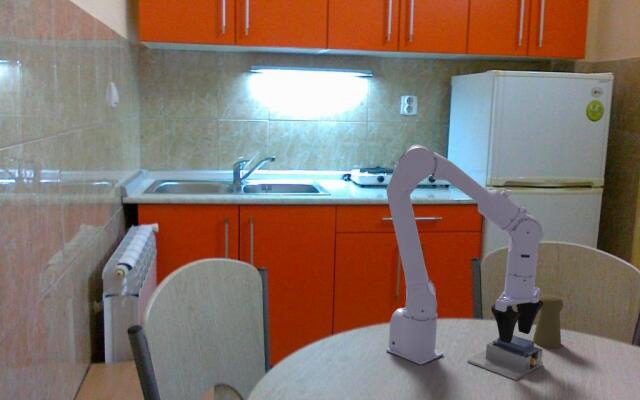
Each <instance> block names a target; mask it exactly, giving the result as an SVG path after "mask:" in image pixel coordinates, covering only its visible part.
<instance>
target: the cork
mask: <svg viewBox="0 0 640 400" xmlns="http://www.w3.org/2000/svg"><path fill="white" fill-rule="evenodd" d="M539 300H541V301H543V306H542V307H541V308H540V310H539V312H538V318H537V323H536V327H535V331H534V335H533V339H532V341H533V342H534V345H536V346H539V347H542V348H545V349H547V348H548V349H559V348H561V346H562V340H561V338H562V337H561V316H560V312H561V311H562V310H563V308H564V302H563V299H562V298H561V297H560V296H558V295H554V294H542V295H541V296H539Z"/></svg>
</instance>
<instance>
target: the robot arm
mask: <svg viewBox="0 0 640 400" xmlns="http://www.w3.org/2000/svg"><path fill="white" fill-rule="evenodd" d="M429 176H431V178H432V180H437V181H439V180H440V181H447V182H448V183H449V184H450V185H452V186H454V188H456V189H458V190H459V191H461V192H462V193H464V194H465V195H466V196H468V198H470V199H472V200H473V201H475V202H476V203H477V211H478V213H479V214H481V215H482V216H483V217H485V218H486V219H487V220H489V221H490V222H491V223H493V224H494V225H495V226H496V227H498V228H499V229H500V230H502V231H503V232H507V233H508V235H509V236H510V237H509V245H508V246H509V247H508V251H507V259H506V268H505V269H506V270H505V271H506V272H505V281H504V291H503V292H502V293H501V295H500V296H499V298H498V299H496V300H495V304H493V305H491V308H490V309H491V310H490V311H491V313H492V314H493V316H494V319H495V321H496V326H497V331H498V336H499V337H500V341H503V342H506V343H511V341H512V337H513V335H514V331H515V328H516V324H517V330H518V332H519V333H522V334H526V335H529V334H530V333H531V331H532V328H533V325H534V321H535V320H536V317H537V315H538V314H539V312H540V308H541V307H542V306H543V301H541V300H539V298H540V297H541V296H540V294H541V288H539V287H535V285H536V275H537V264H538V255H539V252H538V249H539V243H540V242H541V241H542V240H543V237H544V235H545V234H544V232H543V227H542V225H541V223H540V221H538V220H537V219H536V218H535V217H534V216H533V215H532V214H531V213H530V212H528V209H527V208H526V207H524V206H522V207H521V206H519V205H518V204H517V203H516V202H514V201H513V200H511V199H510V198H509V196H510V195H509V193H507V192H506V191H504V190H503V191H499V190H498V189H491V190H489V189H488V190H487V189H486V188H485V187H483V186H482V185H481V184H480V183H478V181H476V180H475V179H474V178H473V177H471V176H470V175H469V174H467V173H466V172H465V171H464V170H462V169H461V168H460V167H459V166H457V165H456V163H454V162H453V161H451V160H449V159H448V158H447V157H444V156H442V155H441V154H439V153H437V152H436V151H433V152H432V150H431V149H430V148H429V147H427V146H426V145H423V144H413V145H411V146H409V147H408V148H407V149H406V150H405V151H404V152H403V153H402V155H401V156H400V157H398V161H397V163H396V165H395V167H394V170H393V172H392V175H391V177H390V179H389V181H388V184H387V186H386V197H387V201H388V204H389V205H388V206H389V209H390V215H391V219H392V224H393V227H394V232H395V233H394V234H395V237H396V241H397V245H398V252H399V255H400V260H401V265H402V270H403V272H404V273H403V274H404V280H405V281H404V282H405V287H406V288H405V293H406V294H405V296H406V297H405V299H406V300H405V304H404V305H405V307H399V308H397V309H396V310H395V311H394V312H393V313H392V316H391V318H390V322H389V340H388V347H386V352H389V353H392V354H394V355H395V356H398V357H400V358H401V357H402V358H404V359H406V360H408V361H411V362H413V363H416V364H418V365H424V364H427V363H429V362H430V361H433V360H435V359H438V358H440V357H442V356H444V352H443V351H440V350H438V349H436V341H437V327H438V312H437V308H438V302H437V301H438V300H437V298H436V286H435V285H434V283H433V282H432V281H431V280H430V278H429V275H428V271H427V268H426V265H425V259H424V255H423V249H422V245H421V240H420V235H419V231H418V227H417V223H416V222H417V221H416V218H415V212H414V209H413V204H412V199H411V195H412V193H413V192H414V190H415V189H416V188H417V187H418V185H419V184H420V183H421V182H423V181H424V180H426V179H427V178H428V177H429ZM514 306H515V307H516V310H517V311H515V310H514V309H513V307H514ZM499 337H498V338H499Z"/></svg>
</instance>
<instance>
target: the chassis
mask: <svg viewBox="0 0 640 400" xmlns="http://www.w3.org/2000/svg"><path fill="white" fill-rule="evenodd" d="M535 347H536V346H535ZM536 348H538V351H536V352H534V353H533V358H534V359H537V363H536V365H531V364H530V360H531V356H530V355H529V356H528V355H525V356H523V355H521V354H518V353H515V352H512V351H509V350H506V349H503V348H500V347H497V345H496V344H493V341H491V342H490V343H487V344H486V349H485V350H484V351H483V350H482V352H479V353H477V354H475V355H474V356H471V357H469V358H467V359H466V360H467V361H466V362H467V363H469V364H471V365H475V366H477V367H479V368H483V369H485V370H487V371H491V372H493V373H495V374H499V375H500V376H503V377H506V378H508V379H511V380H514V381H517V380H519V379H521V378H522V377H524V376H527V374H530V373H531V372H533V371H535V370H537V369H538V368H540V367H541V366H543V364H544V361H542V358H543V348H539V347H536Z"/></svg>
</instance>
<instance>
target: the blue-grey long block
mask: <svg viewBox="0 0 640 400" xmlns="http://www.w3.org/2000/svg"><path fill="white" fill-rule="evenodd" d="M492 342H493V344H496V345H497V347H500V348H503V349H506V350H509V351H512V352H515V353H518V354H521V355H523V356H525V355H528V356H529V355H530V356H531V360H530V364H531V365H536V363H537V359H534V358H533V353H534V352H536V351H538V348H539V347H537V348H536V346H535V343H534V342H533V340H529V339H526V338H523V337H521V336H517V335H514V334H513V337H512V341H511V343H506V342H503V341H500V337H497V338H496V339H495V340H493V341H492Z"/></svg>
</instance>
